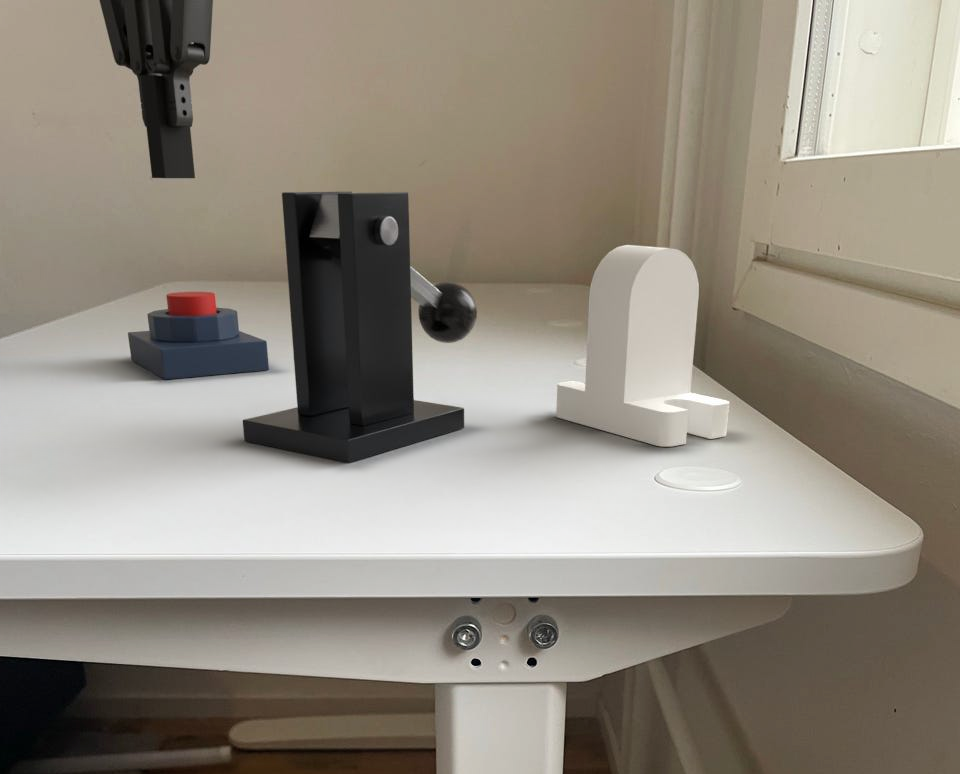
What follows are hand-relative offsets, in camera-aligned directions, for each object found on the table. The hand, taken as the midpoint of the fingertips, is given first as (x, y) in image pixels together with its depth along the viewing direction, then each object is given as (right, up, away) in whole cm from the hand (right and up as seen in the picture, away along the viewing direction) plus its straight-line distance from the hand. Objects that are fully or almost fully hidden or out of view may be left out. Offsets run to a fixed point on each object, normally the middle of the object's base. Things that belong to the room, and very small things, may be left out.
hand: (173, 177), depth 75 cm
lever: (+17, -15, -16) cm, 28 cm away
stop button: (0, -9, +4) cm, 10 cm away
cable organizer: (+32, -21, -13) cm, 41 cm away
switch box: (0, -12, +6) cm, 13 cm away
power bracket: (+15, -22, -16) cm, 31 cm away
